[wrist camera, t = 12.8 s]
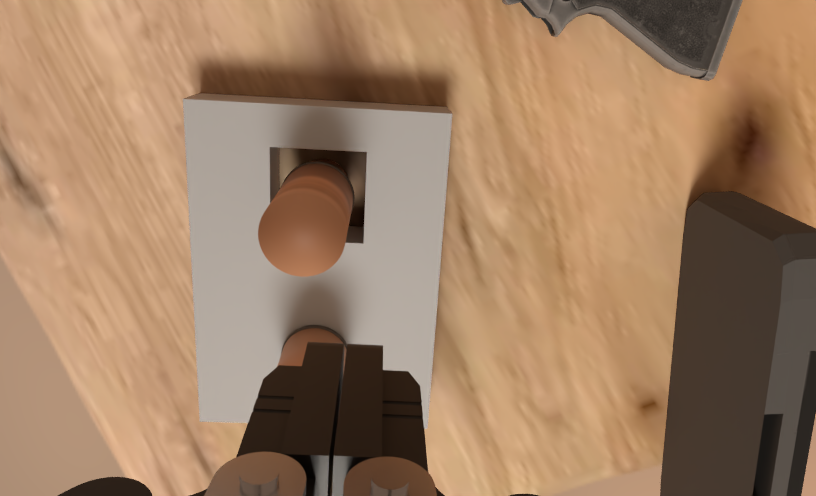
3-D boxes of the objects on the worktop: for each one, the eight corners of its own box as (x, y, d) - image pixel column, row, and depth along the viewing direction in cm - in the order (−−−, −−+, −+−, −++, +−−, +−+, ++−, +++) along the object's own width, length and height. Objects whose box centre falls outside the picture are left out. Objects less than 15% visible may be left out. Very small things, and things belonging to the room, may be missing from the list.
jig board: (200, 93, 34) (132, 116, 25) (446, 106, 34) (468, 134, 25) (213, 393, 40) (162, 500, 31) (424, 400, 40) (435, 507, 31)
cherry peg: (289, 148, 35) (256, 190, 26) (358, 152, 35) (348, 194, 26) (289, 214, 36) (257, 275, 27) (355, 217, 36) (345, 279, 27)
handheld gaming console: (696, 513, 44) (782, 647, 34) (656, 516, 44) (731, 650, 34) (733, 185, 37) (854, 239, 27) (685, 188, 36) (790, 243, 27)
